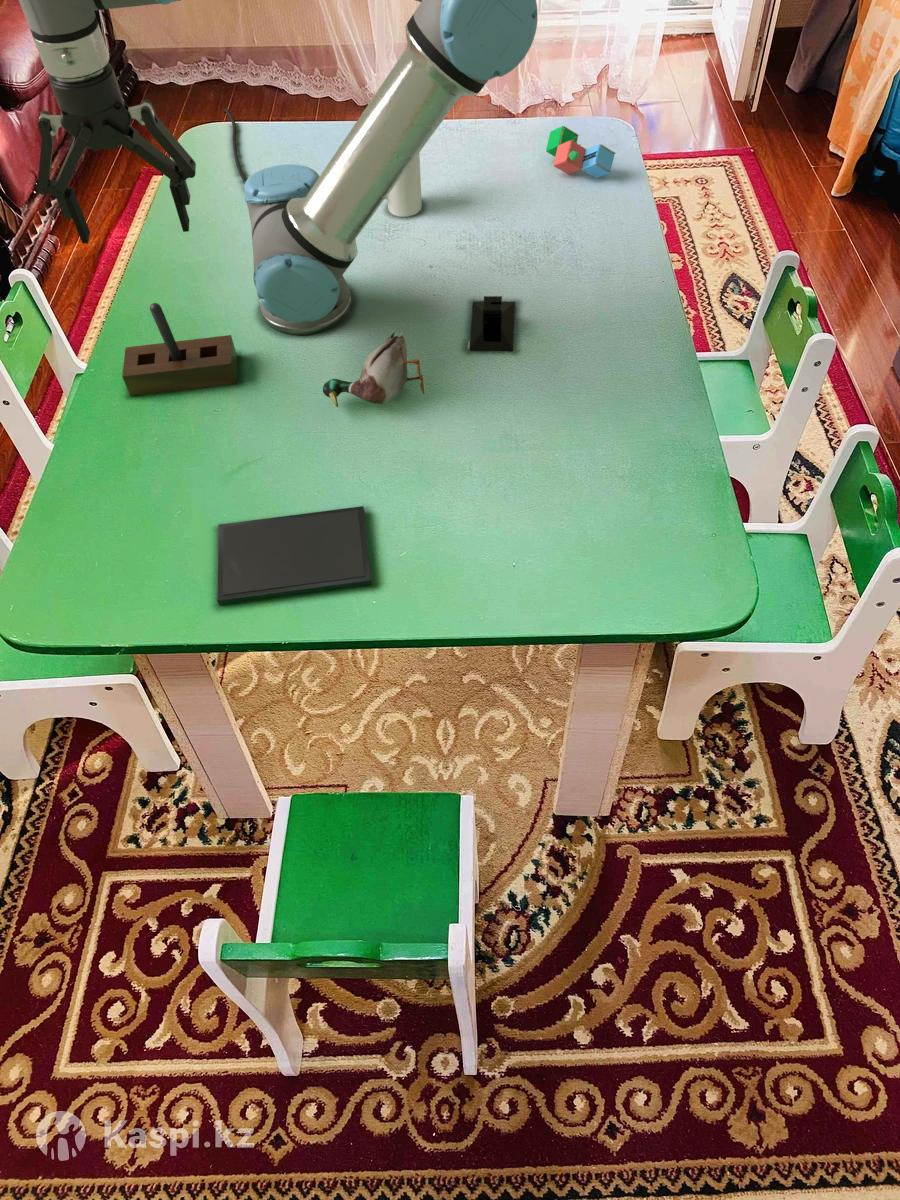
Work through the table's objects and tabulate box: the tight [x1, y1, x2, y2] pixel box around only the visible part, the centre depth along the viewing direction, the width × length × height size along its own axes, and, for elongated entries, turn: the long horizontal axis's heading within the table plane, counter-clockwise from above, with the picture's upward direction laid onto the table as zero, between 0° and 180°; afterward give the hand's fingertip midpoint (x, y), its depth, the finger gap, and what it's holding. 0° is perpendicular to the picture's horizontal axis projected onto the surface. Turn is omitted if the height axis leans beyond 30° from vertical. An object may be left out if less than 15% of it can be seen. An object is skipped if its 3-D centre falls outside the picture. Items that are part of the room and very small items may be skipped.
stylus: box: [149, 302, 183, 361], centre depth 139 cm, size 2×2×16 cm
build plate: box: [467, 295, 516, 353], centre depth 148 cm, size 12×7×5 cm, turn 176°
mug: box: [384, 152, 423, 218], centre depth 166 cm, size 10×7×12 cm, turn 109°
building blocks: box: [545, 125, 617, 179], centre depth 174 cm, size 8×8×12 cm
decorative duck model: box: [322, 331, 425, 408], centre depth 140 cm, size 15×8×15 cm
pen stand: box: [121, 334, 238, 397], centre depth 144 cm, size 7×17×4 cm, turn 98°
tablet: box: [216, 505, 373, 606], centre depth 123 cm, size 13×20×1 cm, turn 98°
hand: (136, 232), depth 126 cm, fingers open, 13 cm apart
